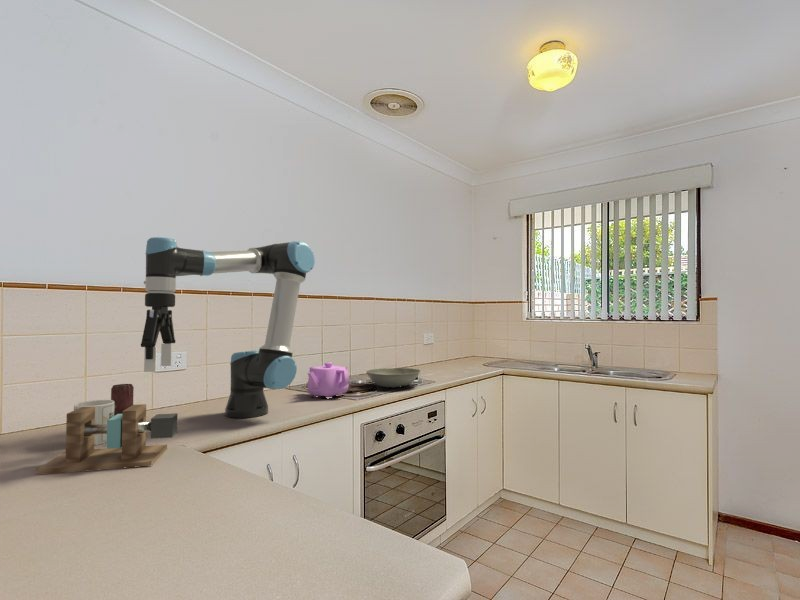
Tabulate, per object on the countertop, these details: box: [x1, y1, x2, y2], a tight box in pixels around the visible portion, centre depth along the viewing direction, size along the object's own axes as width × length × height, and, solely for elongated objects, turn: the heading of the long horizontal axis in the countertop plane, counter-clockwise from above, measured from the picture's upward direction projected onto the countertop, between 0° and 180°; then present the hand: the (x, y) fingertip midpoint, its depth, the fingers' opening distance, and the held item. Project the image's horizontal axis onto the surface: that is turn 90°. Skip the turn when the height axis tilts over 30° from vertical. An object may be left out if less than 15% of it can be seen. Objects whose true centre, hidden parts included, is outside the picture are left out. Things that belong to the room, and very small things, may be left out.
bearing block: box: [36, 403, 168, 475], centre depth 112 cm, size 24×14×13 cm, turn 104°
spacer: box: [106, 414, 122, 449], centre depth 113 cm, size 3×7×7 cm, turn 13°
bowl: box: [365, 367, 421, 388], centre depth 225 cm, size 27×28×8 cm
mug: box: [73, 399, 115, 446], centre depth 128 cm, size 10×12×11 cm
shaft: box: [84, 413, 178, 439], centre depth 114 cm, size 21×5×5 cm, turn 104°
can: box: [110, 383, 134, 416], centre depth 143 cm, size 6×6×14 cm
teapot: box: [307, 361, 350, 398], centre depth 199 cm, size 19×18×15 cm
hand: (158, 368), depth 125 cm, fingers open, 13 cm apart
